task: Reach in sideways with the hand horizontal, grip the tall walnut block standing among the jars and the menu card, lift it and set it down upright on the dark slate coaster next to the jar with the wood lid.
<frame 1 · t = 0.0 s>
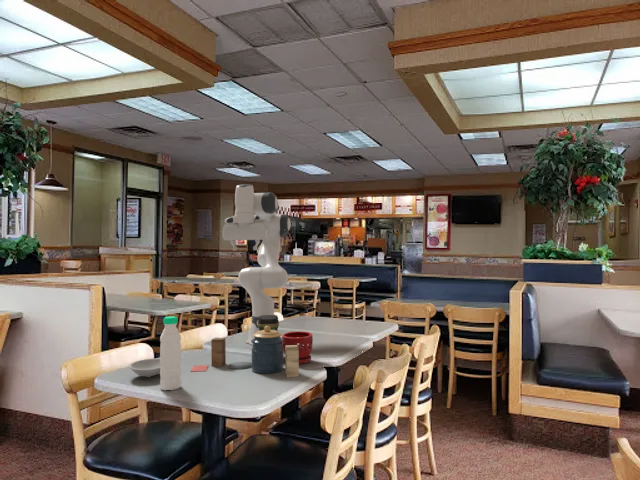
hand: (245, 250, 216), 48 cm above the table, tool pointing down, fingers open, 8 cm apart
maple block: (292, 375, 185), on the table
coffee jar: (268, 356, 217), on the table
dish: (149, 377, 184), on the table
plant pot: (297, 362, 206), on the table
canister: (267, 370, 193), on the table
water bottle: (170, 388, 169), on the table
menu card: (199, 370, 195), on the table
walnut block: (218, 364, 202), on the table
slate coaster: (240, 366, 199), on the table
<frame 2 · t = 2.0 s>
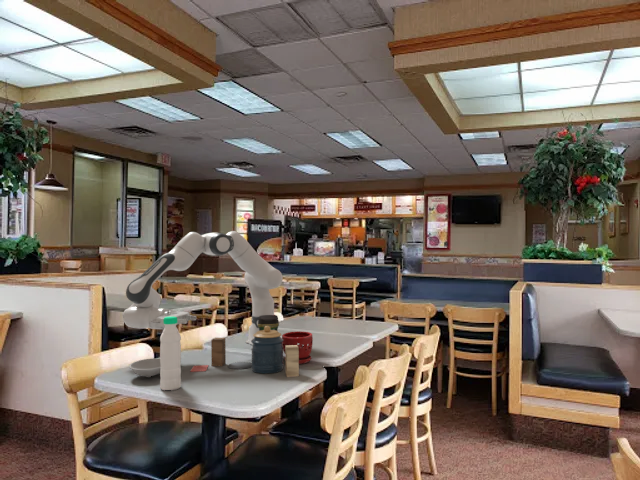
hand: (191, 319, 203), 19 cm above the table, tool horizontal, fingers open, 8 cm apart
nothing on the table moved.
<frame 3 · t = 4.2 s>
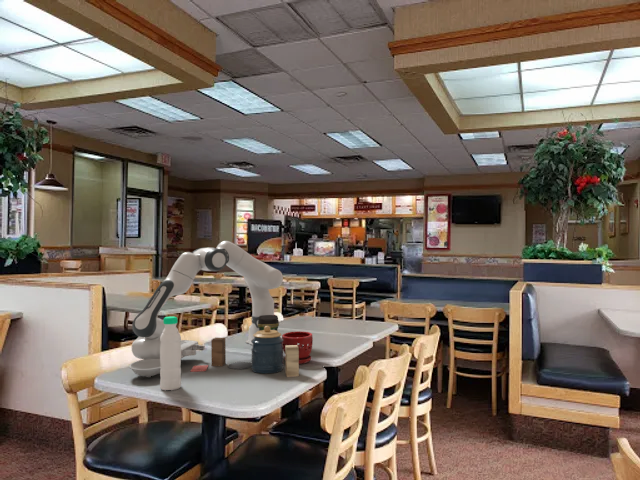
hand: (200, 350, 203), 6 cm above the table, tool horizontal, fingers open, 8 cm apart
nothing on the table moved.
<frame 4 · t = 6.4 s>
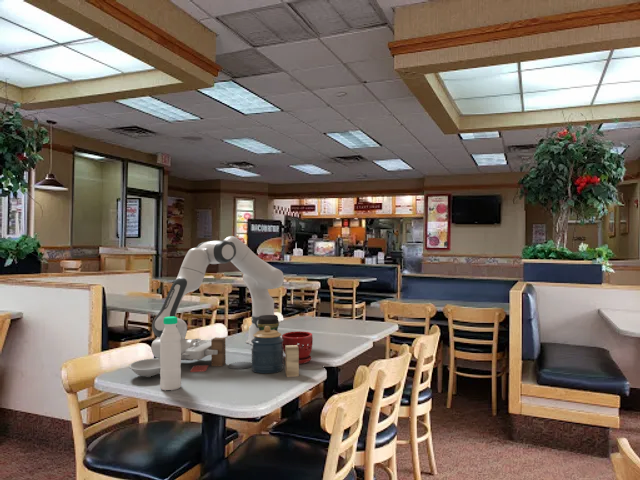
hand: (220, 350, 202), 6 cm above the table, tool horizontal, fingers closed on walnut block, 4 cm apart
walnut block: (218, 364, 202), on the table, touching gripper
everything else where it was.
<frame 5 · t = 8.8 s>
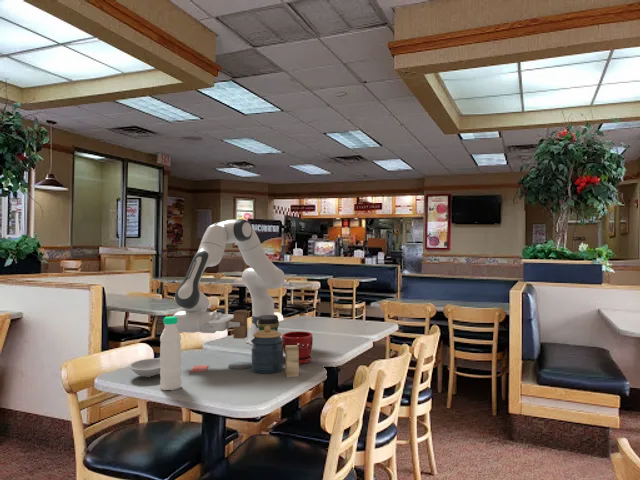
hand: (242, 323, 199), 18 cm above the table, tool horizontal, fingers closed on walnut block, 4 cm apart
walnut block: (240, 337, 199), point 12 cm above the table, touching gripper
everything else where it was.
when the fingers open (8 cm above the table, at t = 11.0 s): walnut block drops 1 cm, resting on slate coaster.
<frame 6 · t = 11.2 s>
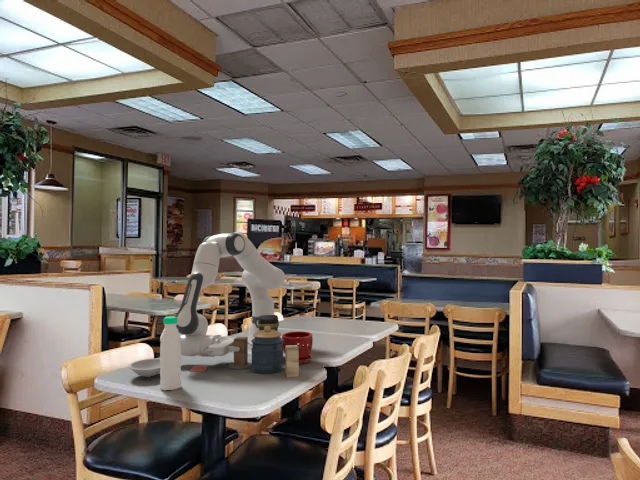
hand: (242, 346, 199), 8 cm above the table, tool horizontal, fingers open, 6 cm apart
walnut block: (240, 364, 199), point 1 cm above the table, touching slate coaster
everything else where it was.
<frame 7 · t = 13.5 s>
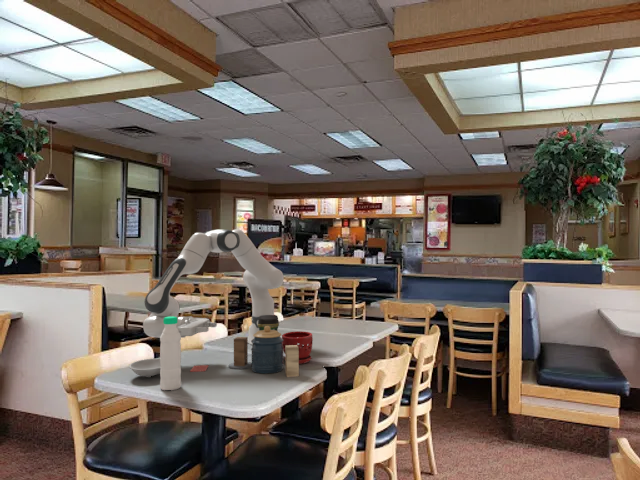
hand: (212, 327, 202), 16 cm above the table, tool horizontal, fingers open, 8 cm apart
nothing on the table moved.
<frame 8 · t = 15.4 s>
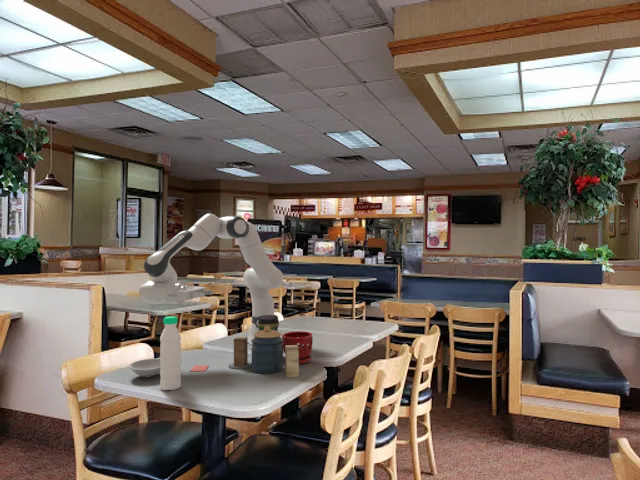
hand: (208, 293, 202), 30 cm above the table, tool horizontal, fingers open, 8 cm apart
nothing on the table moved.
at the end: walnut block inside the target area on the slate coaster (0.1 cm from its centre), point 0.6 cm above the slate coaster's base; walnut block tilted 0°; the gripper is holding nothing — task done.
